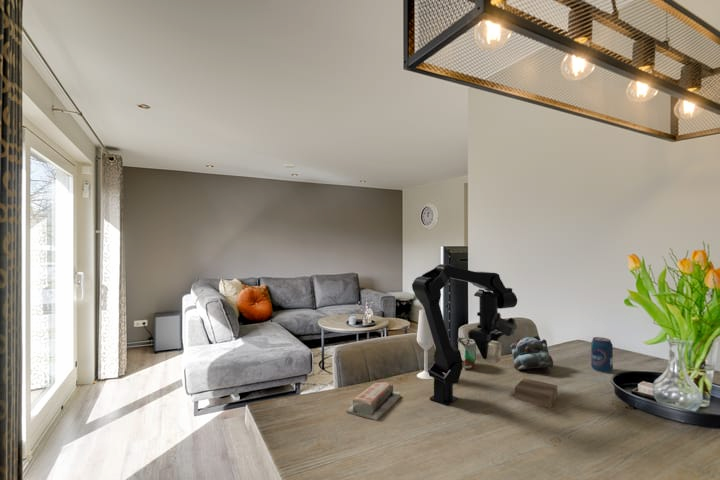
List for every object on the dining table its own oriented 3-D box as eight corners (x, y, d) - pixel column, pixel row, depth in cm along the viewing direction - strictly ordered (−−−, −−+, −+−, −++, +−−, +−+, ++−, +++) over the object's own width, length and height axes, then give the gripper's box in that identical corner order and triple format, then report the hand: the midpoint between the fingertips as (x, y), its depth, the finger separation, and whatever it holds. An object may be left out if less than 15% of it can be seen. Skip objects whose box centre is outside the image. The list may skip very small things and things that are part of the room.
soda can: (587, 369, 141) (587, 338, 141) (596, 366, 145) (596, 335, 145) (607, 374, 135) (607, 342, 135) (616, 371, 139) (615, 339, 139)
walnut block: (550, 409, 107) (550, 395, 108) (514, 399, 114) (514, 387, 114) (557, 398, 115) (557, 385, 115) (523, 390, 122) (523, 378, 122)
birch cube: (494, 364, 117) (493, 345, 117) (476, 360, 121) (476, 342, 121) (501, 360, 121) (501, 342, 121) (483, 356, 125) (483, 339, 125)
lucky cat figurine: (508, 370, 139) (502, 334, 146) (519, 375, 147) (513, 340, 154) (550, 366, 131) (541, 328, 138) (559, 371, 139) (551, 335, 146)
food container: (482, 371, 138) (481, 345, 138) (465, 371, 138) (465, 345, 138) (472, 361, 150) (472, 337, 151) (457, 361, 151) (457, 337, 151)
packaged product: (377, 404, 100) (345, 397, 104) (377, 422, 100) (345, 414, 104) (401, 382, 116) (372, 377, 120) (401, 397, 116) (372, 391, 120)
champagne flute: (435, 379, 130) (435, 312, 130) (416, 378, 131) (416, 312, 131) (434, 373, 136) (434, 309, 137) (416, 372, 137) (416, 308, 138)
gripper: (502, 317, 109) (502, 369, 109) (522, 308, 123) (523, 355, 123) (467, 312, 116) (467, 361, 116) (490, 305, 130) (490, 348, 130)
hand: (488, 356), depth 121 cm, fingers closed on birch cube, 6 cm apart
